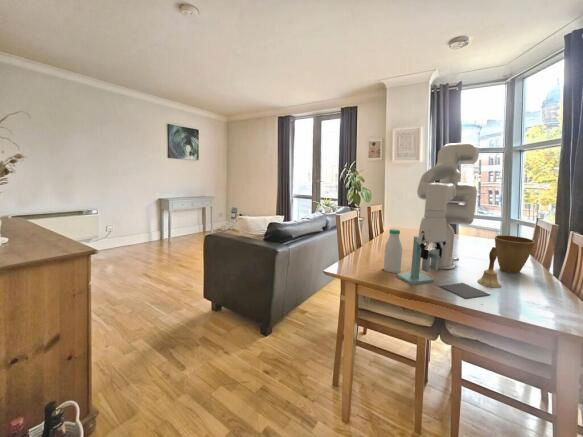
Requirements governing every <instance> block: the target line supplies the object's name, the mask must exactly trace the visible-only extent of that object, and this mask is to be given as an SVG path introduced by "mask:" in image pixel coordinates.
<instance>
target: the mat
mask: <svg viewBox="0 0 583 437" xmlns="http://www.w3.org/2000/svg"><path fill="white" fill-rule="evenodd" d="M439 287H440V288H442V289H444V290H447V291H448V292H450V293H453V294H454V295H456V296H459V297H461V298H463V299H464V300H465V299H466V300H467V299H475V298H481V297H488V296H491V294H490V293H488V292H486V291H484V290H481V289H478V288H477V287H474V286H471V285H469V284H467V283H464V282H458V283H449V284H442V285H439Z"/></svg>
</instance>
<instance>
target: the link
mask: <svg viewBox="0 0 583 437" xmlns="http://www.w3.org/2000/svg"><path fill="white" fill-rule="evenodd" d="M427 250H428V259H427V260H426V259H423V258H421V259H422V260H421V261H422V262H421V271H423V272H426V273H427V272H430V270H432V271H434V272H436V271H437V272H438V271H439V268H438V266H439V260H436V259H433V258H430V256H431V255H438V256H439V255H440V249H437V248H432V247H430V248H429V247H428V249H427ZM430 260H431V266H430Z"/></svg>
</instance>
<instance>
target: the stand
mask: <svg viewBox="0 0 583 437" xmlns="http://www.w3.org/2000/svg"><path fill="white" fill-rule="evenodd" d="M418 236H419V235H417V236H413V241H412V242H413V244H412V245H413V246H412V254H411V256H412V257H411V266H410V267H411V269H410V270H411V271H410V272H403V273H400V272H399V273H395V277H397V278H399V279H401V280H402V281H405V282H406V283H408V284H410V285H417V284H426V283H434V282H435V280H436V279H435V278H433V277H430V276H428V275H426V274H425V273H422V272H420V269H421V261H422V260H421V259H422V258H421V248H420V246H419V245H418V243H417V242H416V239H417V238H418ZM421 242H422V241H421ZM431 258H433V259H436V260H440V256H438V255H431V256H430V259H431Z"/></svg>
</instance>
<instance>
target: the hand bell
mask: <svg viewBox="0 0 583 437" xmlns="http://www.w3.org/2000/svg"><path fill="white" fill-rule="evenodd" d="M488 254H489V256H488V257H489V264H488V269H485V270H484V271H483V274H482V276H481V277H480V278H479V279H478V280H477V283H478V284H480V285H482V286H485V287H490V288H502V284H501V282H499V280H498V279H499V278H498V273H497V271H495V270H494V267H495V262H496V260H497V250H496V247H495V246H492V248H491V249H490V251H489V253H488Z"/></svg>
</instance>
